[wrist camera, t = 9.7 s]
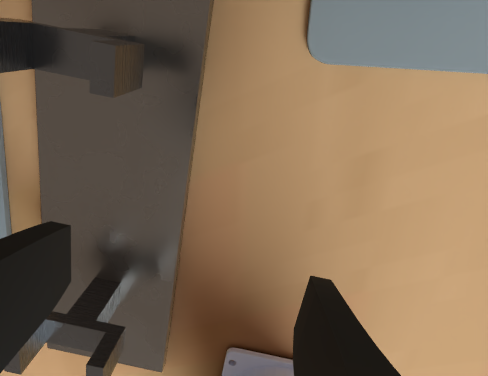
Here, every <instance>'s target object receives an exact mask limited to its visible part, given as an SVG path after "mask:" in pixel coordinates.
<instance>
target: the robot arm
mask: <svg viewBox="0 0 488 376" xmlns="http://www.w3.org/2000/svg"><path fill="white" fill-rule="evenodd" d="M70 283H71V225H67V224H62V223H57V222H53V221H50V222H46V223H43V224H40V225H37V226H34V227H31V228H28V229H25V230H23V231H20V232H17V233H14V234H12V235H9V236H6V237H4V238H1V239H0V373H1V372H2V371H3V370H4V368H5V367H6V366H7V365H8V364H9V362H10V361H11V360H12V359H13V358H14V356H15V355H16V354H17V353H18V352H19V351H20V349H21V348H22V347H23V346H24V345H25V343H26V342H27V341H28V340H29V339H30V337H31V336H32V335H33V334H34V333H35V332H36V330H37V329H38V328H39V327H40V325H41V324H42V323H43V322H44V321H45V319H46V318H47V317H48V316H49V314H50V313H51V312H52V311H53V309H54V308H55V306H56V305H57V303H58V302H59V300H60V299H61V297H62V296H63V294H64V292H65V291H66V289H67V287H68V286H69V284H70ZM231 360H234V361H231ZM222 376H401V375H400V374H399V373H398V372H397V370H396V369H395V368H394V367H393V366H392V364H391V363H390V362H389V361H388V359H387V358H386V357H385V356H384V354H383V353H382V352H381V351H380V349H379V348H378V347H377V346H376V344H375V343H374V342H373V340H372V339H371V338H370V336H369V335H368V334H367V332H366V331H365V329H364V328H363V327H362V325H361V324H360V322H359V321H358V320H357V318H356V317H355V315H354V314H353V312H352V311H351V309H350V308H349V306H348V305H347V303H346V302H345V300H344V299H343V297H342V296H341V294H340V293H339V291H338V290H337V288H336V286H335V285H334V284H333V282H332V281H331V280H329V279H324V278H319V277H315V276H310V279H309V282H308V285H307V288H306V291H305V295H304V298H303V301H302V304H301V308H300V311H299V314H298V317H297V320H296V324H295V327H294V340H293V360H291V359H286V358H281V357H277V356H272V355H267V354H263V353H258V352H253V351H249V350H244V349H239V348H229V349H228V350H227V353H226V358H225V362H224V367H223V371H222Z"/></svg>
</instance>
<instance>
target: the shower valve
mask: <svg viewBox="0 0 488 376" xmlns="http://www.w3.org/2000/svg"><path fill="white" fill-rule="evenodd" d="M307 45H308V49H309V52H310V54H311V55H312V56H313V57H314V58H315V59H316V60H318V61H320V62H323V63H326V64H334V65H351V66H368V67H384V68H401V69H418V70H434V71H451V72H468V73H484V74H488V0H311V2H310V11H309V20H308V30H307Z"/></svg>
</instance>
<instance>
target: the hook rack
mask: <svg viewBox="0 0 488 376" xmlns="http://www.w3.org/2000/svg"><path fill="white" fill-rule="evenodd" d="M213 1H214V0H32V18H33V22H31V21H26V20H21V19H9V18H0V73H4V72H11V71H19V70H27V69H35V84H36V105H37V127H38V149H39V171H40V193H41V215H42V224H43V223H46V222H50V221H53V222H57V223H62V224H67V225H71V283H70V284H69V286H68V287H67V289H66V291H65V292H64V294H63V296H62V297H61V299H60V300H59V302H58V303H57V305H56V306H55V308H54V309H53V311H52V312H51V313H50V314H49V316H48V317H47V318H46V319H45V321H44V322H43V323H42V324H41V325H40V327H39V328H38V329H37V330H36V332H35V333H34V334H33V335H32V336H31V337H30V339H29V340H28V341H27V342H26V343H25V345H24V346H23V347H22V348H21V349H20V351H19V352H18V353H17V354H16V355H15V356H14V358H13V359H12V360H11V361H10V362H9V364H8V365H7V366H6V367H5V368H4V370H5V371H7V372H11V373H16V374H22V372H23V371H24V370H25V368H26V367H27V366H28V365H29V363H30V362H31V361H32V359H33V358H34V357H35V356H36V354H37V353H38V352H39V350H40V349H41V348H42V346H43V345H44V344H45V343H46V342H47V346H48V348H51V349H56V350H60V351H65V352H70V353H74V354H79V355H83V356H88V357H91V358H90V359H89V361H88V363H87V364H86V376H111V374H112V372H113V370H114V368H115V366H116V364H117V363H121V364H125V365H130V366H134V367H139V368H144V369H148V370H153V371H158V372H162V371H163V368H164V366H165V363H166V355H167V348H168V340H169V333H170V325H171V318H172V310H173V303H174V295H175V288H176V280H177V272H178V265H179V257H180V250H181V242H182V235H183V227H184V220H185V212H186V205H187V197H188V189H189V182H190V174H191V167H192V159H193V152H194V144H195V137H196V129H197V122H198V114H199V107H200V99H201V91H202V84H203V76H204V69H205V61H206V54H207V46H208V39H209V31H210V24H211V16H212V8H213Z"/></svg>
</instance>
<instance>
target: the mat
mask: <svg viewBox="0 0 488 376" xmlns="http://www.w3.org/2000/svg"><path fill="white" fill-rule="evenodd" d="M9 235H12V233H11V222H10V210H9V198H8V186H7V175H6V163H5V151H4V139H3V127H2V116H1V104H0V239H1V238H4V237H6V236H9Z"/></svg>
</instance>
